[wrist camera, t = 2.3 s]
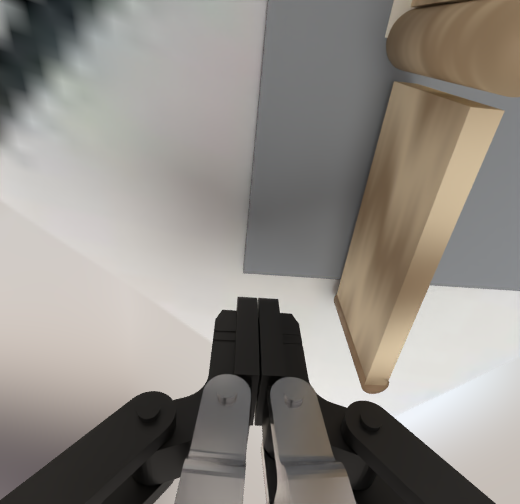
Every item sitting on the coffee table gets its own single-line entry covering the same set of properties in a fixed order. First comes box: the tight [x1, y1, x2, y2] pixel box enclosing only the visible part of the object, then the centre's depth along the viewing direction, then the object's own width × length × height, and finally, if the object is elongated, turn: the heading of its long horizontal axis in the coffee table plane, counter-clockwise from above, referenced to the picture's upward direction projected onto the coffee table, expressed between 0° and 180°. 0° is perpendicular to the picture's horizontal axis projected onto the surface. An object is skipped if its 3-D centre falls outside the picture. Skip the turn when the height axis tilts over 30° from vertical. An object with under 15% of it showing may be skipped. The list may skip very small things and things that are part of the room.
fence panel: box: [334, 81, 504, 394], centre depth 16 cm, size 12×1×6 cm, turn 174°
